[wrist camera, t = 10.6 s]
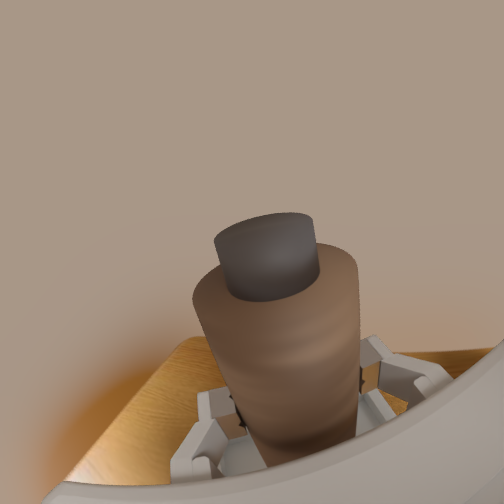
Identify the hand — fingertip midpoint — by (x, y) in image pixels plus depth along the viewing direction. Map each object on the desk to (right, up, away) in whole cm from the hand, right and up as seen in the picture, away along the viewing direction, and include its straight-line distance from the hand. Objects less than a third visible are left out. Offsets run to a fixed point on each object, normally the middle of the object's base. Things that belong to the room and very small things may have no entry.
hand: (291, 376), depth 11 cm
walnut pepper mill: (+2, -6, +2) cm, 7 cm away
